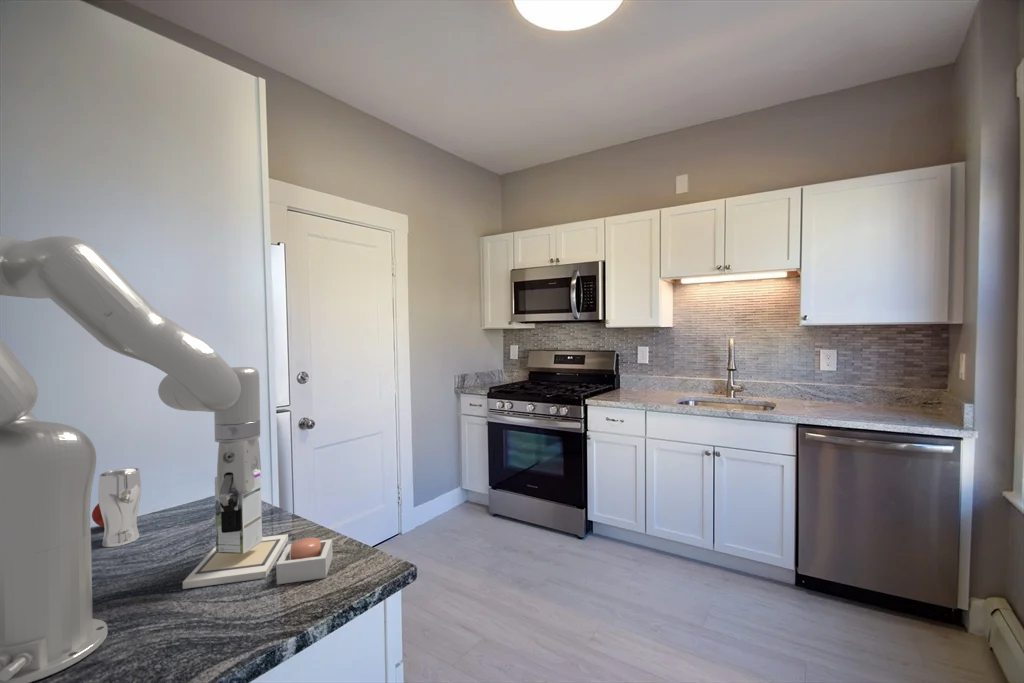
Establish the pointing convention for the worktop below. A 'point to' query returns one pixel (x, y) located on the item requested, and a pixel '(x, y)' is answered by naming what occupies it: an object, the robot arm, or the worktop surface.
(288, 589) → the worktop surface
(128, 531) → the beer glass
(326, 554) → the button housing
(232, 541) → the syrup box
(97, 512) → the onion
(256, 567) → the picture board
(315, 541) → the button
